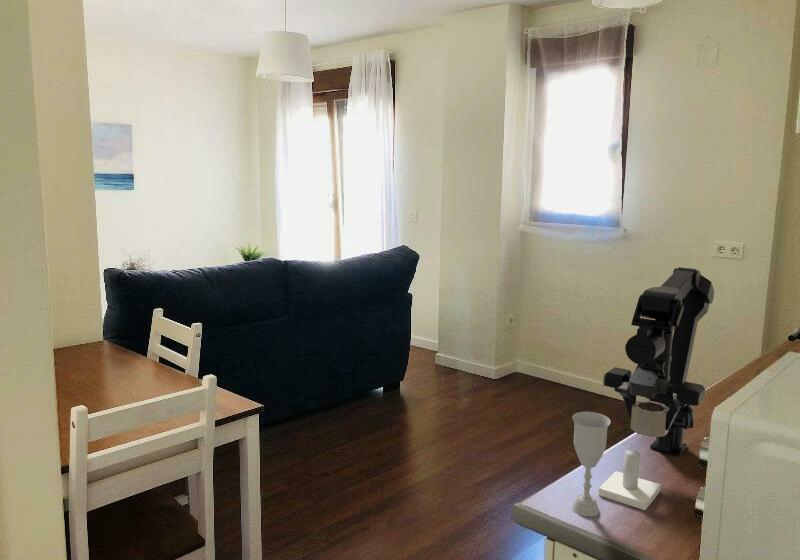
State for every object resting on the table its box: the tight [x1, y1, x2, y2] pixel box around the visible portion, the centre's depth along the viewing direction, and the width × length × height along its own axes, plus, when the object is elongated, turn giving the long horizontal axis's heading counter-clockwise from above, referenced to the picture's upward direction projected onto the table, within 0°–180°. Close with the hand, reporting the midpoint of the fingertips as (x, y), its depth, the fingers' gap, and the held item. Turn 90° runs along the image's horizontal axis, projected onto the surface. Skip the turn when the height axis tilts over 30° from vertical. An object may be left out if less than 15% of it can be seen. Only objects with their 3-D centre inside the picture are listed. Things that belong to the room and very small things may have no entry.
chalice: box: [571, 411, 611, 517], centre depth 120 cm, size 7×7×18 cm
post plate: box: [598, 449, 662, 511], centre depth 127 cm, size 9×9×8 cm
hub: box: [630, 400, 669, 438], centre depth 133 cm, size 7×7×5 cm
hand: (649, 425), depth 133 cm, fingers closed on hub, 7 cm apart
